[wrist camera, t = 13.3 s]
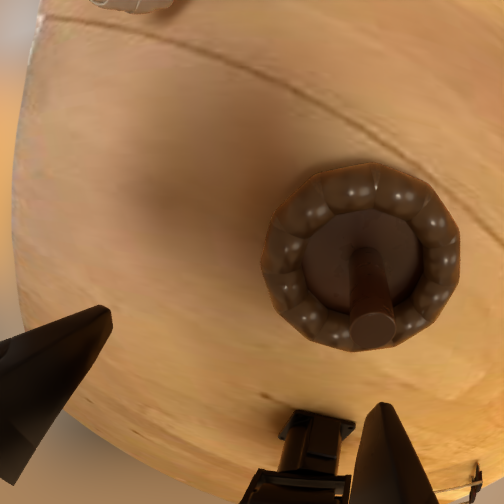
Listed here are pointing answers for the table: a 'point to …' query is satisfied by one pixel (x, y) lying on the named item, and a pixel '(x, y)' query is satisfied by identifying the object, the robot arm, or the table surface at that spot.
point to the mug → (133, 5)
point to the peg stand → (364, 271)
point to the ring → (346, 201)
